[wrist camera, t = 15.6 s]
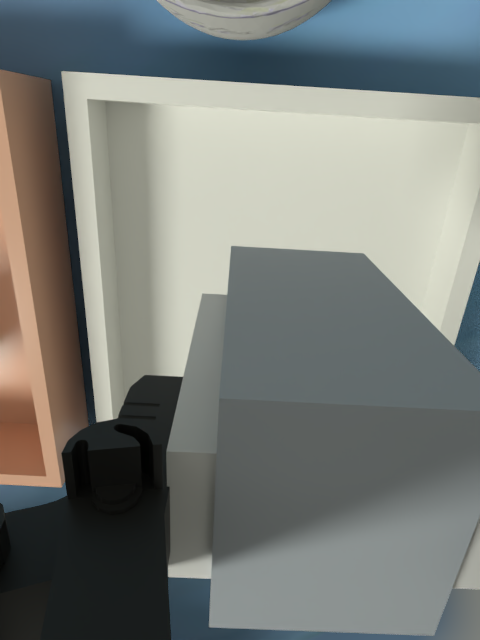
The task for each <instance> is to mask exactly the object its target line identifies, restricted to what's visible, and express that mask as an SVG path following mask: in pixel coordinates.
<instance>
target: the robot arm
mask: <svg viewBox="0 0 480 640" xmlns="http://www.w3.org/2000/svg"><path fill="white" fill-rule="evenodd" d="M226 305H227V295H223V294H204V293H202V297H201V301H200V306H199V310H198V314H197V319H196V323H195V328H194V332H193V336H192V341H191V345H190V350H189V354H188V358H187V363H186V367H185V372H184V376H183V377H178V376H158V375H144V376H143V377H142V378H140V379H139V380H138V381H137V382H136V383H134V384H133V385H132V386H131V387H130V389H129V391H128V393H127V396H126V398H125V400H124V405H122V407H121V410H120V412H119V414H118V418H117V419H112V420H107V421H102V422H97V423H95V424H93V425H90V426H88V427H86V428H84V429H81V430H80V431H79V432H78V433H76V434H75V435H74V436H73V437H72V438H70V439H69V440H68V442H67V443H66V445H65V447H64V449H63V451H62V453H61V454H62V461H63V469H64V476H65V483H66V490H67V496H66V497H64V498H61V499H59V500H57V501H54V502H51V503H48V504H44V505H41V506H36V507H31V508H27V509H22V510H17V511H12V512H8V513H4V509H3V505H2V504H1V503H0V640H171V630H170V612H169V594H168V577H177V578H203V579H211V568H212V546H213V524H214V501H215V479H216V457H217V434H218V412H219V393H220V381H221V368H222V355H223V343H224V330H225V317H226ZM167 570H168V575H167ZM452 588H458V589H480V517H479V520H478V522H477V525H476V528H475V530H474V533H473V535H472V538H471V541H470V543H469V546H468V548H467V551H466V553H465V556H464V559H463V561H462V564H461V566H460V569H459V572H458V574H457V577H456V579H455V582H454V585H453V587H452Z"/></svg>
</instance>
